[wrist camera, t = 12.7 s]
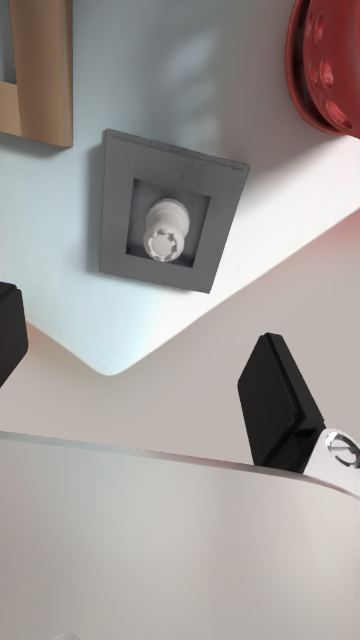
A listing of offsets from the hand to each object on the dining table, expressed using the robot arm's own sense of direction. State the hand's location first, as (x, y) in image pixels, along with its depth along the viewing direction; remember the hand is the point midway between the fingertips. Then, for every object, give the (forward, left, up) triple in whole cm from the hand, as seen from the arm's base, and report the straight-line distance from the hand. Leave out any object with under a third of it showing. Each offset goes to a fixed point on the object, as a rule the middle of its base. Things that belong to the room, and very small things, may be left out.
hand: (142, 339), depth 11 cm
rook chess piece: (0, 0, -20) cm, 20 cm away
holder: (0, 0, -20) cm, 20 cm away
